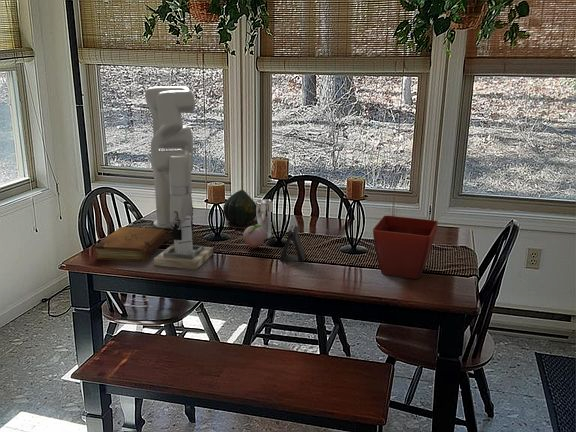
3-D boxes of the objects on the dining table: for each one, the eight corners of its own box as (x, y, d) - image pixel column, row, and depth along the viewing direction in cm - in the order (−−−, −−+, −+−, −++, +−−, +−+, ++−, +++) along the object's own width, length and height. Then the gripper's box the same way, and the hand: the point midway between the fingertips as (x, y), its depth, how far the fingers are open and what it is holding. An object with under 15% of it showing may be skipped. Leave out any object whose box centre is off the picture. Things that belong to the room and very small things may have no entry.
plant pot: (382, 258, 215) (384, 214, 210) (434, 265, 208) (438, 220, 203) (369, 276, 198) (372, 229, 193) (426, 285, 191) (430, 236, 186)
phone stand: (305, 256, 216) (306, 226, 212) (303, 262, 210) (304, 231, 206) (282, 255, 217) (282, 224, 214) (279, 260, 211) (279, 229, 208)
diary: (145, 263, 209) (143, 248, 208) (95, 261, 212) (94, 246, 210) (166, 242, 231) (165, 228, 229) (121, 240, 234) (120, 226, 232)
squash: (225, 218, 243) (246, 189, 245) (212, 210, 256) (232, 183, 258) (249, 235, 250) (269, 207, 252) (235, 227, 263) (254, 201, 265)
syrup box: (193, 254, 210) (191, 215, 206) (177, 256, 208) (175, 217, 204) (189, 249, 215) (188, 211, 211) (173, 251, 213) (171, 213, 209)
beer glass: (274, 234, 240) (274, 199, 236) (272, 240, 233) (271, 204, 229) (257, 233, 241) (257, 198, 236) (254, 239, 234) (254, 203, 230)
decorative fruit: (249, 243, 229) (248, 219, 227) (268, 245, 227) (268, 221, 224) (239, 251, 221) (239, 225, 218) (259, 253, 218) (259, 228, 215)
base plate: (173, 249, 221) (173, 240, 220) (213, 253, 218) (212, 244, 217) (154, 264, 207) (153, 255, 206) (196, 269, 203) (195, 259, 202)
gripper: (181, 183, 214) (183, 227, 219) (160, 194, 198) (162, 242, 203) (200, 184, 212) (202, 229, 217) (180, 196, 196) (182, 244, 201)
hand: (183, 235), depth 210 cm, fingers open, 9 cm apart
